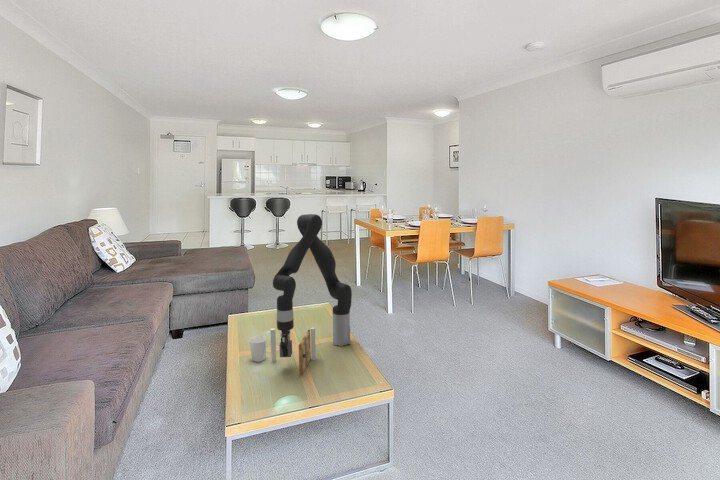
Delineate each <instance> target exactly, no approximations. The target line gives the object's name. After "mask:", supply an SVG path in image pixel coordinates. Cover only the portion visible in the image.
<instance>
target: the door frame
mask: <svg viewBox="0 0 720 480" xmlns="http://www.w3.org/2000/svg"><path fill="white" fill-rule="evenodd" d="M276 333H277V331H276V328H274V327H273V328H270V350H271V362H277V337H276V335H277V334H276ZM316 347H317V346H316V327H312V326H311V327H310V352H311V359H310V361H316V359H317V357H316V356H317V355H316V353H317V351H316Z"/></svg>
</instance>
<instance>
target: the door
mask: <svg viewBox="0 0 720 480" xmlns="http://www.w3.org/2000/svg"><path fill="white" fill-rule="evenodd" d="M310 361H311V329H307V332H306V334H305V335H304V336H303V338H302V339H301V341H300V342H299V343H298V367H299V368H298V373H299V375H303V374H304V372H305V370H306V368H307V367H308V365H309V363H310Z"/></svg>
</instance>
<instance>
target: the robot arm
mask: <svg viewBox="0 0 720 480" xmlns="http://www.w3.org/2000/svg"><path fill="white" fill-rule="evenodd" d="M296 226H297V229H298V231H299V232H300V235H301V236H302V237H301V239H300V240H299V241H298V242H297V243H296V244H295V245H294V246H293V248H291V250H290V251H289V253H288V255H287V257H286V259H285V262H284V263H283V265H282V267H281V268H280V269H279V270H278V271H277V273H276V274H275V275H274V276H273V280H272V287H273V289H275V290H276V291H281V292H283V295H279V296H278V297H277V298H276V328H277V330H278V331H281V333H280V342H281V349H283V357H282V358H288V357H287V356H288V343H289V340H291V330H293V329H294V326H295V324H294V323H295V321H294V320H295V319H294V302H293V299H294V295H295V290H296V287H297V283H296V280H295V278H294V277H293V276H291V275H292V274H293V275H294V274H296V273H298V271H299V269H300V267H301V265H302V263H303V260H304V257H305V255H306V254H307V252H308V251H309V250H310V252H311V254H312V256H313V259H314V261H315V263H316V264H317V266H318V269H319V271H320V272H321V275H322V277H323V279H324V281H325V284H326V288H327V290H328V294H329V295H330V297H331V298H333V299H335V300H336V301H337V304H336V305H334V306H333V307H332V344H333V345H334V344H335V346H337V345H339V346H338V347H344V346H343V345H346V346H348V345H347V344H350V345H351V320H350V319H351V317H350V316H351V313H350V312H351V307H352V297H353V292H352V288H351V286H350V285H349V284H348V283H343V282H341V281H340V280H339V278H338V276H337V274H336V267H337V264H336V263H337V262H336V259H335V257H334V254H333V252H332V251H331V249H330V248H329V246H328V245H326V243H324V242H323V240H321V239H320V238H319V236H318V234H319V233H320V231H321V230H322V226H323V219H322V217H321V216H320V215H318V214H316V213H315V214H313V213H312V214H311V213H310V214H309V213H308V214H301V215H299V216H298V217H297V221H296ZM283 345H286V346H283Z"/></svg>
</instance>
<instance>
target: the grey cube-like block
mask: <svg viewBox="0 0 720 480" xmlns="http://www.w3.org/2000/svg"><path fill="white" fill-rule="evenodd" d="M283 346H286V345H283ZM292 353H293V340H292V339H290V340H289V343H288V356H287V357H286V358H291V357H292ZM279 358H284V357H283V349H281V341H280V342H279Z"/></svg>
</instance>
